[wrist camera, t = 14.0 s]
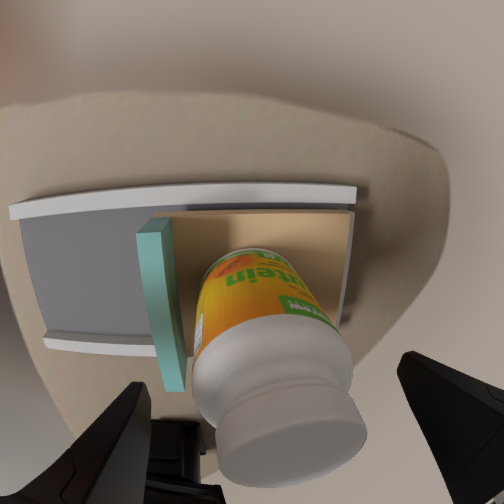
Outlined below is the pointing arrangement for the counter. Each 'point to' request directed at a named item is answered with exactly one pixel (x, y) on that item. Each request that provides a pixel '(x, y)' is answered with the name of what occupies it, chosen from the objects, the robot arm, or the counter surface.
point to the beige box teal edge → (216, 246)
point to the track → (131, 252)
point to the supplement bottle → (271, 374)
